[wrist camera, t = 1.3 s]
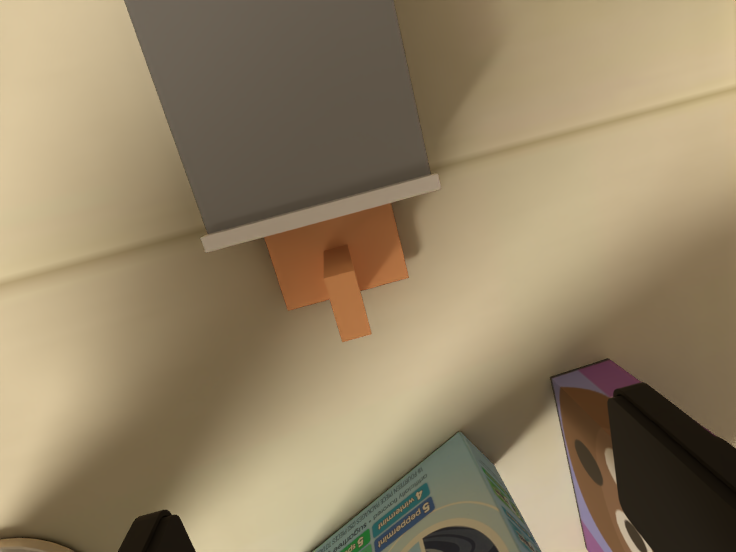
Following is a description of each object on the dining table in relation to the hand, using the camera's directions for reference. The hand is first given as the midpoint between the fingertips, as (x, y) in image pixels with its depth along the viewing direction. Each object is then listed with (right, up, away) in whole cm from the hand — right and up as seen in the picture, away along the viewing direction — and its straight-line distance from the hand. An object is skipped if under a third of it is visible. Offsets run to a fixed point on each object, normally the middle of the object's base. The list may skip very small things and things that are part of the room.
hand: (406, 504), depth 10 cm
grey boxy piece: (-6, +17, +19) cm, 26 cm away
